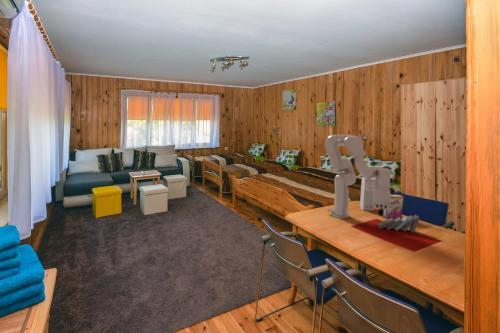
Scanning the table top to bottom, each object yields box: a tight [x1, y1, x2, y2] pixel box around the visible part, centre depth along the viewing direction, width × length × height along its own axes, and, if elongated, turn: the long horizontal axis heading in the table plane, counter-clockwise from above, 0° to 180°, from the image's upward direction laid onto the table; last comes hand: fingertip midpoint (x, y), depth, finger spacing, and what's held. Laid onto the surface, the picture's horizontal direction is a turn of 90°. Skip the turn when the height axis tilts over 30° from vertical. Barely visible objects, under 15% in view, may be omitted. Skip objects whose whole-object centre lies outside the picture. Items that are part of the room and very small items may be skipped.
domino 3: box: [393, 216, 409, 231], centre depth 183 cm, size 2×5×10 cm
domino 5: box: [408, 214, 421, 233], centre depth 181 cm, size 2×5×10 cm, turn 165°
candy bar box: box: [382, 194, 404, 219], centre depth 206 cm, size 11×5×16 cm, turn 84°
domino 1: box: [377, 218, 395, 230], centre depth 186 cm, size 2×5×10 cm
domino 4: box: [400, 215, 415, 232], centre depth 182 cm, size 2×5×10 cm
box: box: [359, 176, 377, 212], centre depth 225 cm, size 8×8×25 cm
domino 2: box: [385, 217, 403, 231], centre depth 184 cm, size 2×5×10 cm
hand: (380, 215), depth 186 cm, fingers closed
